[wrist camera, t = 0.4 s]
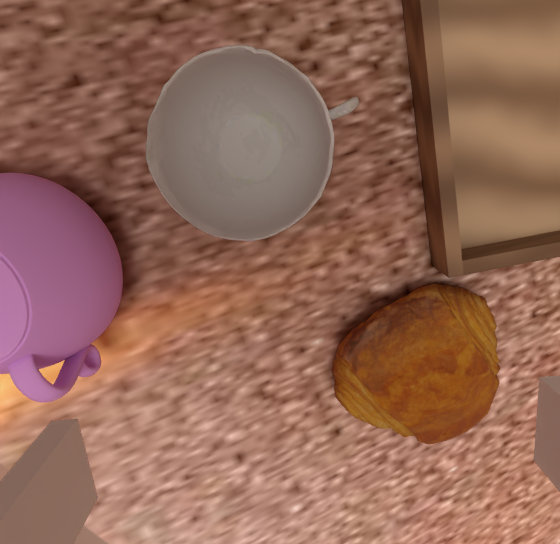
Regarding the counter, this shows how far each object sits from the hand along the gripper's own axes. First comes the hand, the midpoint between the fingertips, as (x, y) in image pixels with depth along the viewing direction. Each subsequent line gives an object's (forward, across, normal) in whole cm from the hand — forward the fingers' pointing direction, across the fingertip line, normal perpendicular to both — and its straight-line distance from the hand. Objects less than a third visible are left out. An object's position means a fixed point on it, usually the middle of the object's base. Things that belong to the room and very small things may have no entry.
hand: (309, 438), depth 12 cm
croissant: (+27, +11, -12) cm, 32 cm away
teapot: (+27, -22, +2) cm, 35 cm away
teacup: (+27, -1, +9) cm, 28 cm away
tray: (+27, +20, +11) cm, 36 cm away
